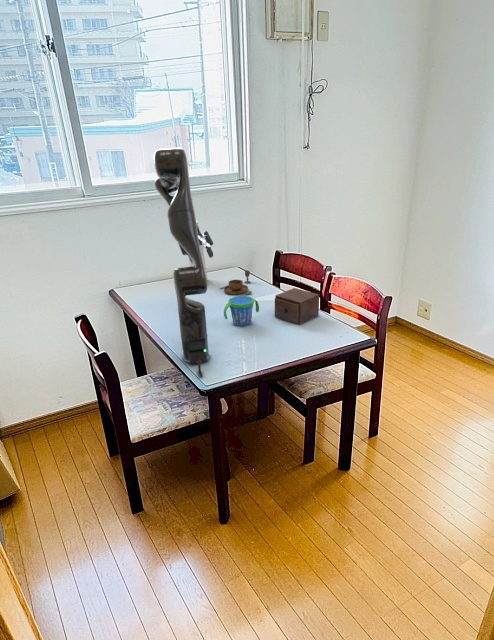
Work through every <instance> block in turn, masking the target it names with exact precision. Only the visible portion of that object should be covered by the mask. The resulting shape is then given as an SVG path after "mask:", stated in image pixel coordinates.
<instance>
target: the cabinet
mask: <svg viewBox="0 0 494 640" xmlns="http://www.w3.org/2000/svg"><path fill="white" fill-rule="evenodd" d="M274 296H275V298H279V299H283V300H287V301H290V302H294V303H297V304H299V323H295V322H292V321H289V320H286V319H283V318H280V317H277V319H282V320H284V321H287V322H290V323H294V324H297V325H303V324H305V323H307V322H309V321H311V320H313V319H315V318H317V317H319V309H320V307H319V306H320V294H319V293H315V292H312V291H308V290H304V289H299V288H296V287H294V288H291V289H288V290H285V291H283V292H280V293H278V294H276V295H274ZM275 298H274V299H275Z"/></svg>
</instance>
